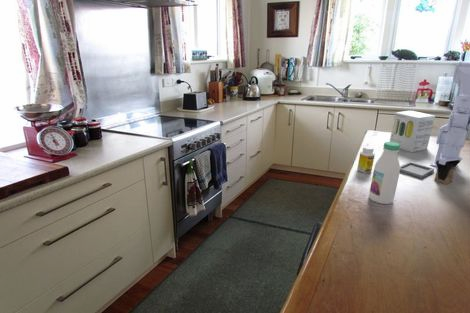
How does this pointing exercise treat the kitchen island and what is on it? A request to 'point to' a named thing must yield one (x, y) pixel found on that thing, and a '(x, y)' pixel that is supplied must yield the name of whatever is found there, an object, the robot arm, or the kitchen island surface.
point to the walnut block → (448, 178)
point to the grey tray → (416, 170)
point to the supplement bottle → (366, 159)
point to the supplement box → (412, 130)
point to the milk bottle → (385, 175)
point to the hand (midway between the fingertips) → (443, 177)
